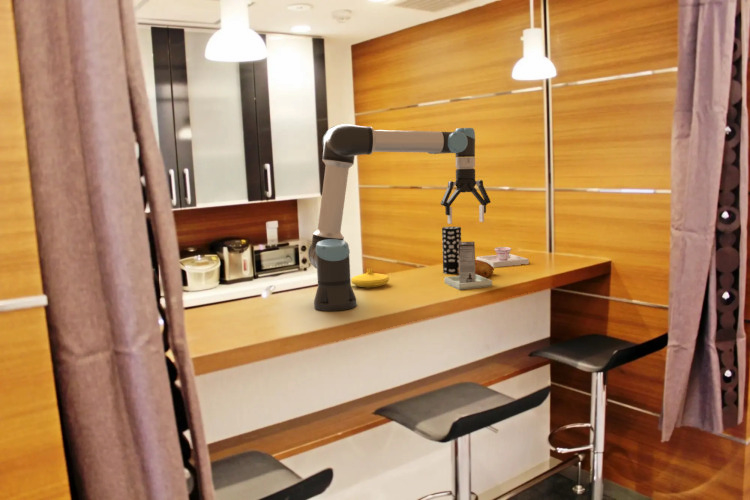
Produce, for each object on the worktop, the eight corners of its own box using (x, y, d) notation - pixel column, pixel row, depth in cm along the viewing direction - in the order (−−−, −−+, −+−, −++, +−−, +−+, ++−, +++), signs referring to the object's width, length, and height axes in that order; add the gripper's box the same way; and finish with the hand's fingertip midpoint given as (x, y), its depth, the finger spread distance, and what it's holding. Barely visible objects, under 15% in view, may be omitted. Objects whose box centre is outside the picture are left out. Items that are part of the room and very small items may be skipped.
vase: (370, 280, 266) (370, 264, 265) (397, 285, 254) (396, 268, 253) (343, 287, 255) (342, 270, 254) (370, 291, 244) (369, 274, 242)
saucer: (493, 267, 283) (493, 262, 283) (476, 261, 301) (476, 256, 300) (528, 264, 288) (528, 259, 288) (510, 258, 305) (510, 253, 305)
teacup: (487, 260, 300) (486, 247, 299) (510, 258, 302) (510, 245, 301) (495, 264, 288) (495, 250, 287) (520, 262, 290) (520, 249, 289)
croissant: (471, 285, 258) (472, 267, 255) (452, 274, 271) (452, 257, 269) (500, 280, 263) (501, 262, 261) (480, 270, 277) (481, 252, 274)
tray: (459, 290, 239) (459, 283, 239) (444, 283, 254) (444, 277, 253) (492, 286, 243) (492, 280, 243) (475, 279, 257) (475, 274, 257)
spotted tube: (465, 272, 275) (464, 227, 272) (451, 274, 270) (450, 229, 267) (453, 269, 282) (452, 226, 279) (439, 272, 277) (438, 228, 274)
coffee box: (459, 280, 253) (458, 241, 251) (474, 280, 252) (474, 241, 250) (459, 285, 244) (458, 244, 242) (475, 284, 243) (475, 244, 241)
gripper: (439, 169, 235) (440, 225, 238) (498, 167, 241) (499, 221, 244) (431, 169, 242) (432, 223, 245) (490, 167, 248) (490, 219, 252)
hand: (465, 222), depth 245 cm, fingers open, 13 cm apart
